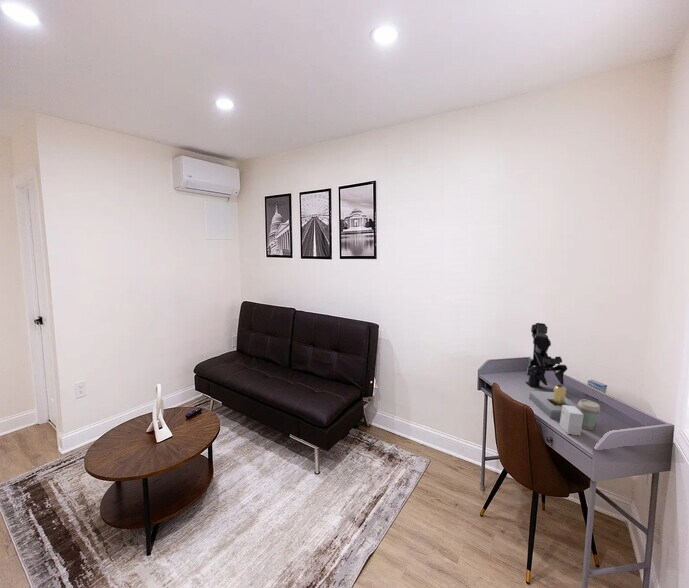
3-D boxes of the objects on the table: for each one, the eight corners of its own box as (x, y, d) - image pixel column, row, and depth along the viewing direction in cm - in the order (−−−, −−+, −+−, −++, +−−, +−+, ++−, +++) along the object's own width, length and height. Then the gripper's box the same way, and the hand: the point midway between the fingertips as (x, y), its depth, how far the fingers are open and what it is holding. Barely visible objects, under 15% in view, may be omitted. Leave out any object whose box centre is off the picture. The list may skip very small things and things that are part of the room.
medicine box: (584, 394, 187) (587, 380, 186) (589, 393, 189) (592, 379, 187) (600, 400, 180) (602, 386, 179) (604, 399, 182) (607, 384, 180)
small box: (580, 436, 146) (584, 414, 144) (566, 434, 147) (570, 413, 145) (572, 426, 153) (575, 405, 152) (559, 424, 155) (562, 404, 153)
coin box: (529, 398, 180) (530, 391, 179) (558, 399, 179) (559, 392, 179) (550, 418, 160) (551, 409, 159) (583, 419, 160) (584, 411, 159)
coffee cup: (587, 421, 158) (591, 398, 156) (601, 431, 150) (606, 407, 148) (570, 421, 158) (574, 398, 156) (583, 431, 149) (587, 407, 147)
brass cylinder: (550, 407, 171) (553, 384, 169) (561, 409, 169) (564, 386, 167) (552, 411, 166) (555, 388, 164) (563, 414, 165) (567, 390, 162)
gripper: (535, 351, 171) (547, 379, 162) (567, 350, 173) (581, 378, 164) (523, 359, 180) (534, 387, 171) (554, 359, 182) (566, 386, 173)
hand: (554, 384), depth 170 cm, fingers open, 9 cm apart
